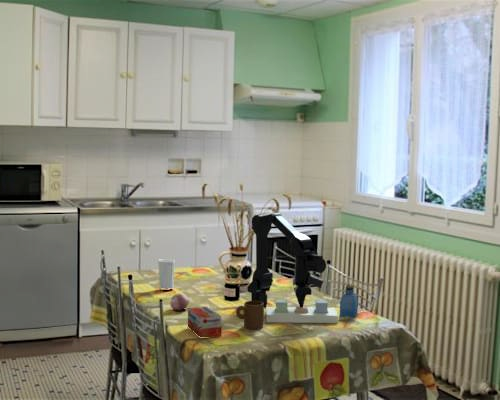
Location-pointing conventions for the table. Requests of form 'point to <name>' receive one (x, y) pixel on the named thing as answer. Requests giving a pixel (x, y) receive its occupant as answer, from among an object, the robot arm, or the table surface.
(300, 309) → the button terracotta
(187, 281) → the table surface
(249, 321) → the mug
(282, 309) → the button sage
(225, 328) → the table surface
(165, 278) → the cup
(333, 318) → the panel
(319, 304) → the button slate
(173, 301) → the onion
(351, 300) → the perfume bottle
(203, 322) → the medicine box
